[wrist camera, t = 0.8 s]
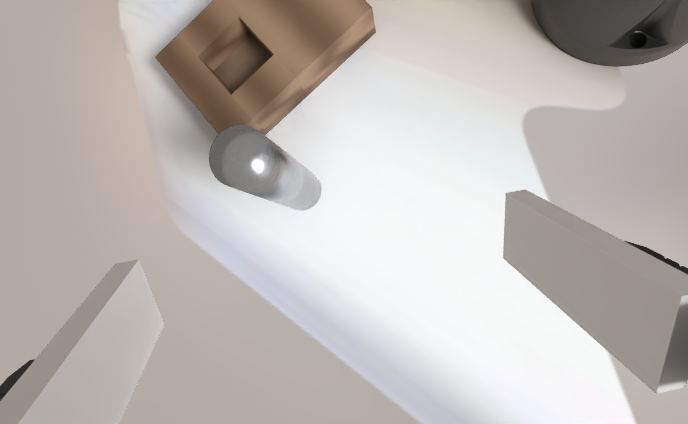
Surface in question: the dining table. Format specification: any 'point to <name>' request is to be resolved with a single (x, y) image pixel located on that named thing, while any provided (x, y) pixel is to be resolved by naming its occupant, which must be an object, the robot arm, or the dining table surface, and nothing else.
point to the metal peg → (262, 168)
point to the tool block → (263, 55)
